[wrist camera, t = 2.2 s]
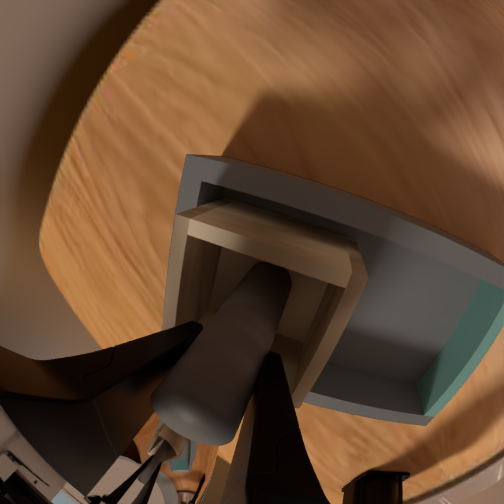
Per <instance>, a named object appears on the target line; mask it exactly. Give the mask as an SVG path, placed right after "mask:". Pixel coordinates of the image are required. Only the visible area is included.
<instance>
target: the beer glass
mask: <svg viewBox="0 0 504 504" xmlns="http://www.w3.org/2000/svg"><path fill="white" fill-rule="evenodd" d="M218 448H219V446H212V445H205V444H201V443H197V442H195V441H192V440H190V439H187V438H185V437H183V436H181V435H180V434H178V433H176V432H175V431H173V430H172V429H171V428H169V427H168V426H167V425H166V424H165V423H164V422H163V421H162V420H161V419H160V418H159V417H158V416H157V414H156V413H155V412H154V414H153V415H152V416H151V417H150V419H149V420H148V421H147V422H146V424H145V425H144V426H143V428H142V429H141V430H140V431H139V433H138V434H137V435H136V436H135V438H134V439H133V440H132V441H131V443H130V444H129V445H128V446H127V448H126V449H125V450H124V451H123V453H122V454H121V455H120V456H119V457H118V459H117V460H116V461H115V463H114V464H113V465H112V466H111V467H110V469H109V470H108V471H107V472H106V474H105V475H104V476H103V477H102V478H101V480H100V481H99V482H98V483H97V484H96V486H95V487H94V488H93V489H92V490H91V492H90V493H89V494H88V495H87V496H86V497H84V496H83V495H81V494H80V493H79V492H78V491H76V490H75V489H74V488H72V487H71V486H70V485H69V484H67V483H66V484H65V485H64V487H63V488H62V489H61V490H62V491H63V492H64V493H65V494H67V495H68V496H69V497H70V498H71V499H72V500H74V501H75V502H76V503H78V504H200V503H201V500H202V498H203V496H204V494H205V492H206V490H207V487H208V484H209V481H210V478H211V475H212V471H213V468H214V464H215V460H216V456H217V452H218Z"/></svg>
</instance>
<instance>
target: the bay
mask: <svg viewBox="0 0 504 504" xmlns="http://www.w3.org/2000/svg"><path fill="white" fill-rule="evenodd" d="M223 198H229V199H232V200H236V201H239V202H242V203H246V204H249V205H252V206H256V207H259V208H262V209H266V210H269V211H272V212H275V213H279V214H282V215H285V216H288V217H291V218H294V219H297V220H301V221H304V222H307V223H310V224H313V225H316V226H319V227H322V228H325V229H328V230H331V231H334V232H337V233H339V234H342V235H345V236H348V237H351V238H354V239H356V241H357V244H358V247H359V250H360V253H361V256H362V259H363V262H364V265H365V268H366V271H367V274H368V281H367V283H366V285H365V288H364V290H363V292H362V294H361V296H360V299H359V301H358V303H357V305H356V307H355V309H354V311H353V313H352V315H351V317H350V319H349V321H348V323H347V325H346V327H345V329H344V331H343V333H342V335H341V337H340V339H339V341H338V343H337V345H336V347H335V348H334V350H333V352H332V354H331V356H330V357H329V359H328V361H327V363H326V365H325V366H324V368H323V370H322V372H321V373H320V375H319V377H318V378H317V380H316V382H315V383H314V385H313V387H312V388H311V390H310V391H309V393H308V395H307V396H306V398H305V399H304V401H303V402H306V403H309V404H313V405H316V406H320V407H324V408H328V409H332V410H336V411H340V412H345V413H349V414H354V415H358V416H363V417H368V418H374V419H379V420H385V421H391V422H398V423H405V424H413V425H422V426H426V425H427V424H428V423H429V422H430V421H431V420H432V419H433V418H434V417H435V416H436V415H437V414H438V413H439V412H440V411H441V410H442V409H443V407H444V406H445V405H446V404H447V403H448V402H449V401H450V400H451V399H452V397H453V396H454V395H455V394H456V393H457V391H458V390H459V389H460V388H461V387H462V385H463V384H464V383H465V382H466V380H467V379H468V378H469V376H470V375H471V374H472V372H473V371H474V370H475V368H476V367H477V366H478V364H479V363H480V361H481V360H482V359H483V357H484V356H485V354H486V353H487V351H488V350H489V348H490V347H491V345H492V344H493V342H494V340H495V339H496V337H497V336H498V334H499V332H500V331H501V329H502V327H503V325H504V263H503V262H502V261H500V260H499V259H497V258H496V257H494V256H493V255H491V254H489V253H487V252H485V251H484V250H482V249H480V248H478V247H476V246H474V245H472V244H470V243H468V242H466V241H464V240H462V239H460V238H458V237H456V236H454V235H451V234H449V233H447V232H445V231H443V230H441V229H439V228H436V227H434V226H432V225H430V224H427V223H425V222H423V221H420V220H418V219H416V218H413V217H411V216H409V215H406V214H404V213H401V212H399V211H396V210H394V209H391V208H389V207H386V206H384V205H381V204H379V203H376V202H373V201H371V200H368V199H365V198H362V197H360V196H357V195H354V194H351V193H348V192H345V191H342V190H340V189H337V188H334V187H331V186H328V185H324V184H321V183H318V182H315V181H312V180H309V179H305V178H302V177H299V176H295V175H292V174H288V173H285V172H281V171H278V170H274V169H271V168H267V167H263V166H259V165H256V164H252V163H248V162H244V161H240V160H235V159H231V158H227V157H223V156H212V155H193V154H186V158H185V163H184V168H183V173H182V178H181V184H180V189H179V195H178V200H177V206H176V212H175V215H176V214H178V213H180V212H183V211H186V210H189V209H192V208H195V207H198V206H201V205H204V204H207V203H210V202H213V201H216V200H219V199H223ZM174 222H175V218H174ZM173 228H174V225H173ZM172 235H173V232H172ZM171 242H172V239H171ZM170 250H171V246H170ZM169 257H170V254H169ZM168 265H169V262H168ZM167 274H168V270H167ZM166 283H167V279H166ZM165 293H166V289H165ZM164 304H165V299H164ZM163 316H164V311H163ZM162 331H163V324H162Z"/></svg>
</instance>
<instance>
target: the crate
mask: <svg viewBox="0 0 504 504" xmlns="http://www.w3.org/2000/svg"><path fill="white" fill-rule="evenodd" d="M367 281H368V274H367V271H366V268H365V265H364V262H363V259H362V256H361V253H360V250H359V247H358V244H357V241H356V239H354V238H351V237H348V236H345V235H342V234H339V233H337V232H334V231H331V230H328V229H325V228H322V227H319V226H316V225H313V224H310V223H307V222H304V221H301V220H297V219H294V218H291V217H288V216H285V215H282V214H279V213H275V212H272V211H269V210H266V209H262V208H259V207H256V206H252V205H249V204H246V203H242V202H239V201H236V200H232V199H229V198H223V199H219V200H216V201H213V202H210V203H207V204H204V205H201V206H198V207H195V208H192V209H189V210H186V211H183V212H180V213H178V214H176V215H175V222H174V228H173V235H172V242H171V250H170V257H169V265H168V274H167V283H166V293H165V304H164V316H163V330H166V329H169V328H172V327H175V326H178V325H181V324H184V323H186V322H189V321H196V322H198V323H200V324H202V325H203V330H202V331H201V333H200V334H199V335H198V336H197V338H196V339H195V340H194V341H193V343H192V344H191V345H190V346H189V348H188V349H187V350H186V351H185V353H184V354H183V355H182V356H181V358H180V359H179V360H178V361H177V363H176V364H175V365H174V366H173V368H172V369H171V370H170V371H169V373H168V374H167V375H166V376H165V378H164V379H163V380H162V381H161V383H160V384H159V385H158V386H157V388H156V389H155V390H154V391H153V393H152V394H151V398H150V401H151V405H152V408H153V410H154V411H155V413H156V414H157V416H158V417H159V418H160V419H161V420H162V421H163V422H164V423H165V424H166V425H167V426H168V427H169V428H171V429H172V430H173V431H175V432H176V433H178V434H180V435H181V436H183V437H185V438H187V439H190V440H192V441H195V442H197V443H201V444H205V445H212V446H219V445H225V444H228V443H230V442H231V441H232V440H233V439H234V437H235V434H236V432H237V430H238V427H239V425H240V423H241V420H242V418H243V416H244V413H245V411H246V408H247V406H248V404H249V401H250V399H251V396H252V394H253V391H254V389H255V386H256V383H257V380H258V378H259V375H260V373H261V370H262V367H263V365H264V362H265V360H266V357H267V354H268V352H269V351H273V352H276V353H279V354H280V355H281V358H282V361H283V365H284V369H285V373H286V377H287V381H288V385H289V389H290V392H291V396H292V400H293V404H294V407H295V408H299V407H300V406H301V404H302V403H303V401H304V399H305V398H306V396H307V395H308V393H309V391H310V390H311V388H312V387H313V385H314V383H315V382H316V380H317V378H318V377H319V375H320V373H321V372H322V370H323V368H324V366H325V365H326V363H327V361H328V359H329V357H330V356H331V354H332V352H333V350H334V348H335V347H336V345H337V343H338V341H339V339H340V337H341V335H342V333H343V331H344V329H345V327H346V325H347V323H348V321H349V319H350V317H351V315H352V313H353V311H354V309H355V307H356V305H357V303H358V301H359V299H360V296H361V294H362V292H363V290H364V288H365V285H366V283H367Z"/></svg>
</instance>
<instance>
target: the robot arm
mask: <svg viewBox="0 0 504 504" xmlns="http://www.w3.org/2000/svg"><path fill="white" fill-rule="evenodd" d="M202 330H203V325H202V324H200V323H198V322H196V321H189V322H186V323H184V324H181V325H178V326H175V327H172V328H169V329H166V330H163V331H160V332H157V333H154V334H151V335H148V336H145V337H142V338H138V339H135V340H132V341H129V342H126V343H123V344H119V345H116V346H114V347H109V348H106V349H102V350H99V351H95V352H91V353H86V354H81V355H76V356H71V357H64V358H58V359H51V360H34V359H30V358H27V357H25V356H22V355H20V354H17V353H15V352H13V351H10V350H8V349H6V348H4V347H2V346H0V504H53V503H52V502H51V500H52V499H53V498H54V497H55V496H56V495H57V493H58V492H59V491H60V490H61V489H62V488H63V487H64V485H65V484H66V483H67V484H69V485H70V486H71V487H72V488H74V489H75V490H76V491H78V492H79V493H80V494H81V495H83V496H84V497H86V496H87V495H88V494H89V493H90V492H91V490H92V489H93V488H94V487H95V486H96V484H97V483H98V482H99V481H100V480H101V478H102V477H103V476H104V475H105V474H106V472H107V471H108V470H109V469H110V467H111V466H112V465H113V464H114V463H115V461H116V460H117V459H118V457H119V456H120V455H121V454H122V453H123V451H124V450H125V449H126V448H127V446H128V445H129V444H130V443H131V441H132V440H133V439H134V438H135V436H136V435H137V434H138V433H139V431H140V430H141V429H142V428H143V426H144V425H145V424H146V422H147V421H148V420H149V419H150V417H151V416H152V415H153V414H154V412H155V411H154V410H153V408H152V405H151V401H150V398H151V394H152V393H153V391H154V390H155V389H156V388H157V386H158V385H159V384H160V383H161V381H162V380H163V379H164V378H165V376H166V375H167V374H168V373H169V371H170V370H171V369H172V368H173V366H174V365H175V364H176V363H177V361H178V360H179V359H180V358H181V356H182V355H183V354H184V353H185V351H186V350H187V349H188V348H189V346H190V345H191V344H192V343H193V341H194V340H195V339H196V338H197V336H198V335H199V334H200V333H201V331H202ZM409 477H410V473H390V472H375V471H368V472H366V473H364V474H363V475H361V476H360V477H358V478H357V479H356V480H354V481H353V482H351V483H350V484H348V485H346V486H345V487H343V488H342V492H344V496H343V504H403V489H402V482H403V481H405V480H406V479H408V478H409ZM220 504H330V502H329V501H328V499H327V498H326V496H325V494H324V492H323V490H322V487H321V485H320V483H319V481H318V478H317V476H316V474H315V471H314V469H313V467H312V464H311V462H310V459H309V457H308V454H307V452H306V449H305V445H304V442H303V439H302V435H301V431H300V428H299V423H298V420H297V416H296V412H295V408H294V404H293V400H292V396H291V392H290V389H289V385H288V381H287V377H286V373H285V369H284V365H283V361H282V358H281V355H280V354H279V353H276V352H273V351H269V352H268V354H267V357H266V360H265V362H264V365H263V367H262V370H261V373H260V375H259V378H258V380H257V383H256V386H255V389H254V391H253V394H252V396H251V399H250V401H249V404H248V406H247V408H246V411H245V415H244V419H243V423H242V426H241V430H240V434H239V437H238V441H237V445H236V448H235V452H234V456H233V459H232V463H231V466H230V470H229V473H228V477H227V480H226V484H225V487H224V490H223V494H222V497H221V500H220Z"/></svg>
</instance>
